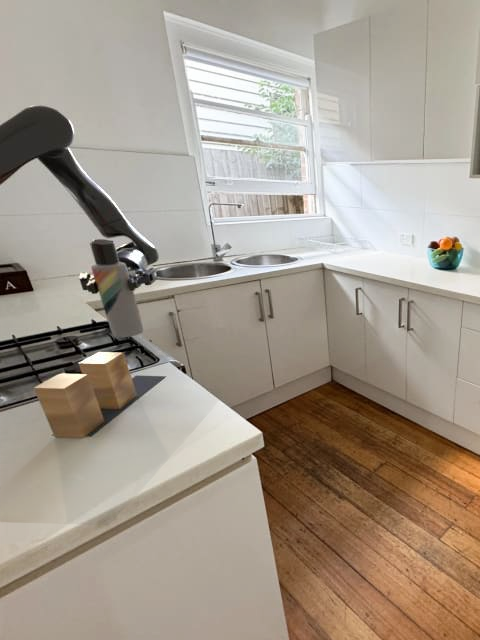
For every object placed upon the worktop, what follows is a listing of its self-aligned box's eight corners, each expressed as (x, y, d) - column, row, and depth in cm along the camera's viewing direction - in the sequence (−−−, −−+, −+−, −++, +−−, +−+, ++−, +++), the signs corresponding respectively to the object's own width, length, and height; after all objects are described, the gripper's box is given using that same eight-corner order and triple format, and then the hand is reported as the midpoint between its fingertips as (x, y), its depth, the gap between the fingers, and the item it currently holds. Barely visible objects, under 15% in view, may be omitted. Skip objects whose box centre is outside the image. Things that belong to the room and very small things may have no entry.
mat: (92, 438, 67) (91, 436, 67) (52, 437, 67) (51, 435, 67) (167, 377, 87) (166, 376, 87) (136, 376, 87) (136, 375, 87)
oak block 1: (83, 438, 67) (63, 388, 62) (54, 437, 66) (33, 387, 62) (104, 421, 71) (87, 374, 67) (78, 420, 71) (59, 373, 67)
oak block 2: (120, 409, 75) (105, 363, 71) (94, 408, 75) (78, 363, 71) (137, 395, 79) (123, 352, 75) (113, 395, 79) (98, 351, 75)
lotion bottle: (134, 326, 87) (108, 237, 79) (149, 331, 85) (125, 239, 77) (106, 334, 82) (76, 240, 74) (122, 340, 80) (93, 243, 72)
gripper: (82, 255, 86) (60, 272, 72) (157, 251, 92) (149, 266, 79) (92, 287, 89) (73, 309, 75) (164, 281, 95) (158, 301, 82)
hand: (112, 287), depth 77 cm, fingers closed on lotion bottle, 5 cm apart
